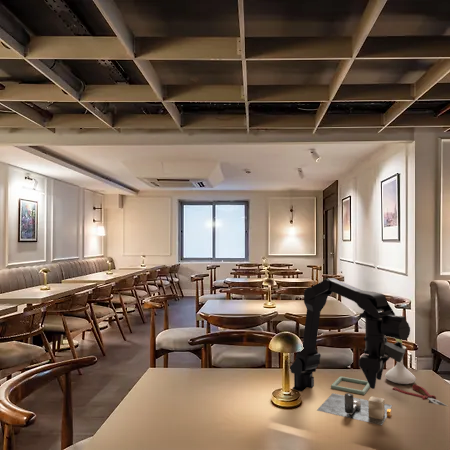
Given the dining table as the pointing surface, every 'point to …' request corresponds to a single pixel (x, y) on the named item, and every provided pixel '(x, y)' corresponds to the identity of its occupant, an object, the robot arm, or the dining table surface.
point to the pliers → (431, 397)
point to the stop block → (376, 407)
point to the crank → (351, 403)
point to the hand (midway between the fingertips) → (376, 383)
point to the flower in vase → (400, 373)
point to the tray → (334, 386)
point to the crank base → (337, 407)
